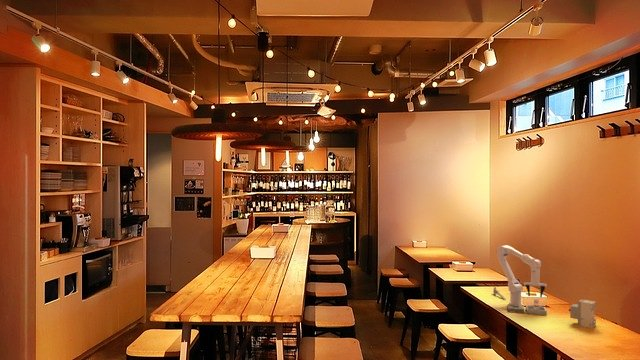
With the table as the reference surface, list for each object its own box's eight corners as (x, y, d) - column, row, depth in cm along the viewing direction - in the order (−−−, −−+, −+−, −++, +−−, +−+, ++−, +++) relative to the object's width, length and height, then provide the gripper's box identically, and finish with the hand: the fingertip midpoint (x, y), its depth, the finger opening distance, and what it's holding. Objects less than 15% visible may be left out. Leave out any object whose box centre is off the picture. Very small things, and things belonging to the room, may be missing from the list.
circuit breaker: (571, 320, 310) (571, 297, 310) (595, 325, 300) (596, 301, 300) (567, 323, 305) (567, 299, 305) (592, 328, 295) (592, 303, 295)
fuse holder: (507, 307, 341) (507, 304, 341) (522, 309, 338) (522, 305, 338) (508, 311, 330) (508, 308, 330) (524, 313, 327) (524, 309, 327)
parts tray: (525, 309, 337) (525, 305, 337) (544, 311, 334) (544, 306, 334) (527, 313, 326) (527, 309, 326) (546, 315, 322) (546, 310, 322)
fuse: (533, 310, 332) (533, 299, 332) (538, 311, 331) (538, 299, 331) (533, 311, 329) (534, 300, 329) (539, 312, 328) (539, 300, 328)
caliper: (493, 294, 385) (493, 286, 385) (494, 294, 385) (494, 286, 385) (504, 300, 364) (504, 292, 364) (506, 300, 364) (506, 292, 364)
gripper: (524, 277, 335) (524, 296, 335) (547, 278, 331) (547, 298, 331) (523, 275, 342) (523, 294, 342) (546, 277, 337) (545, 296, 337)
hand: (535, 296), depth 337 cm, fingers open, 7 cm apart
